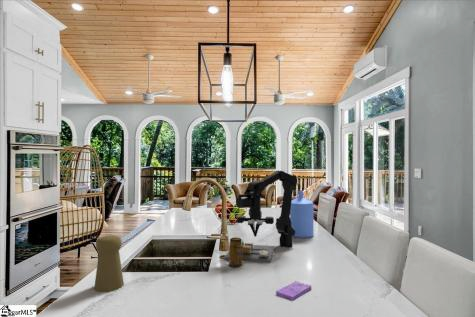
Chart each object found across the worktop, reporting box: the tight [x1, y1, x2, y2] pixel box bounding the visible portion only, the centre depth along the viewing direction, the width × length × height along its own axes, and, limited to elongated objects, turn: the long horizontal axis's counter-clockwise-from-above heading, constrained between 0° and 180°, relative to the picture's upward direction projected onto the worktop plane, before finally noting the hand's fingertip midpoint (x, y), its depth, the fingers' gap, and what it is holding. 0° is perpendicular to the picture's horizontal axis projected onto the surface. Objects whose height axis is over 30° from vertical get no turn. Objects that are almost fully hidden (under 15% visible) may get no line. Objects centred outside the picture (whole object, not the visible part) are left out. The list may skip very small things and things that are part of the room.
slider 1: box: [244, 241, 254, 250], centre depth 162 cm, size 4×3×3 cm
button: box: [259, 250, 268, 257], centre depth 148 cm, size 4×4×2 cm
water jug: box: [290, 190, 315, 239], centre depth 198 cm, size 16×16×28 cm
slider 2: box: [242, 246, 251, 254], centre depth 155 cm, size 4×3×3 cm
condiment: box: [225, 237, 247, 269], centre depth 142 cm, size 7×8×12 cm
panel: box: [224, 241, 276, 263], centre depth 158 cm, size 22×23×4 cm
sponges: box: [275, 280, 312, 301], centre depth 113 cm, size 7×13×2 cm, turn 136°
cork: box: [93, 234, 125, 293], centre depth 119 cm, size 10×10×19 cm
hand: (255, 236), depth 161 cm, fingers closed
